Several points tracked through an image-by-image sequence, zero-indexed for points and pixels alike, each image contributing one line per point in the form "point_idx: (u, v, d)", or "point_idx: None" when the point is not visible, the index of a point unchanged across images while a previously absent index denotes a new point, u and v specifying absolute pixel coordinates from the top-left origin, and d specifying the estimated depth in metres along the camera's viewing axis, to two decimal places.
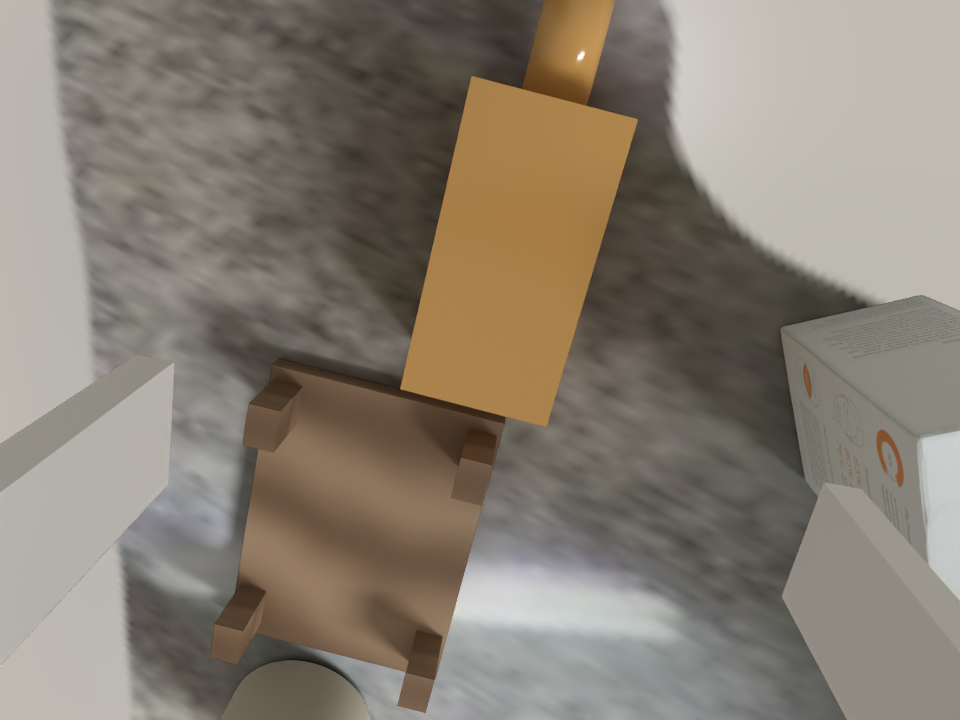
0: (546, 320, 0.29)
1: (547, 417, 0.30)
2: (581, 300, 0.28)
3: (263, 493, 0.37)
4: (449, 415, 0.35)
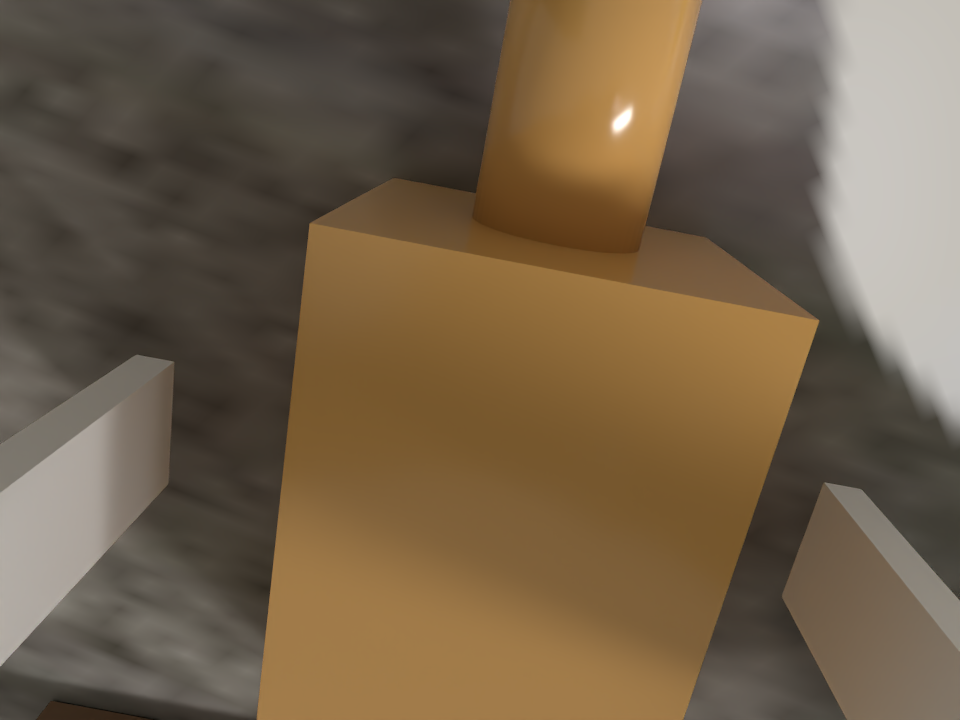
0: None
1: None
2: None
3: None
4: None
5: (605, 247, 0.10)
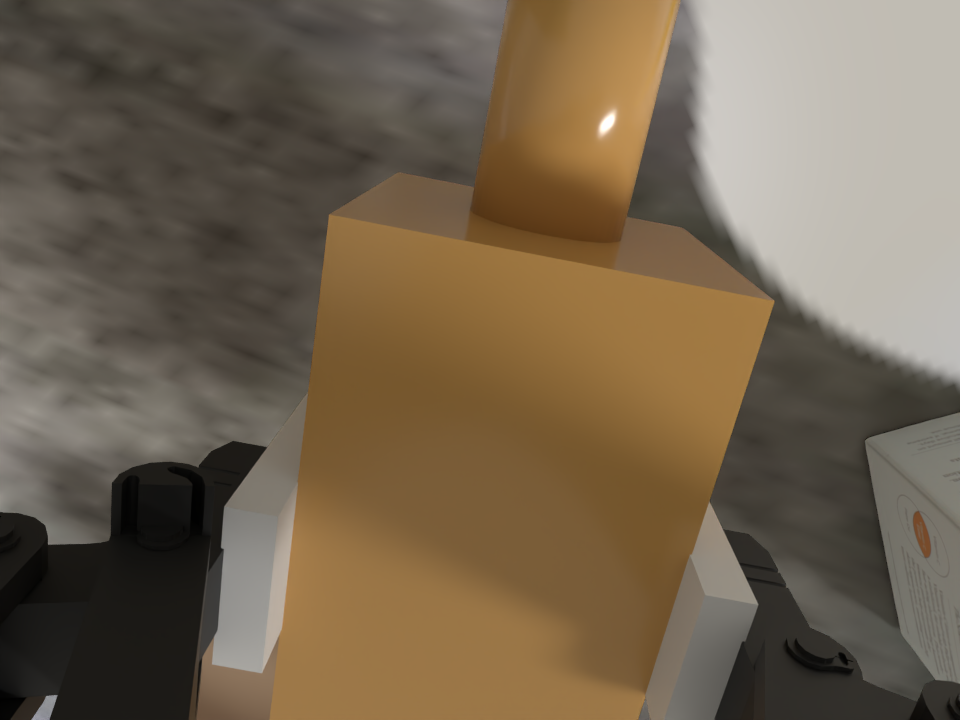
0: None
1: None
2: (640, 694, 0.12)
3: None
4: None
5: (590, 237, 0.12)
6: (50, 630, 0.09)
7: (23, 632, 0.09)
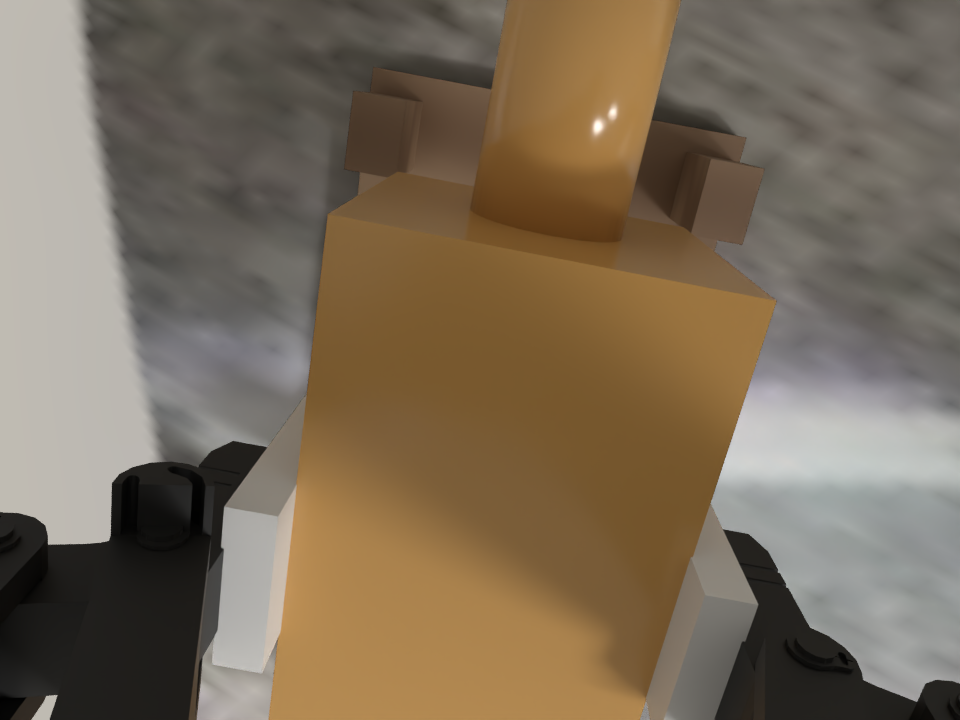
0: None
1: None
2: (640, 696, 0.12)
3: None
4: (657, 130, 0.22)
5: (590, 236, 0.12)
6: (51, 630, 0.09)
7: (23, 632, 0.09)
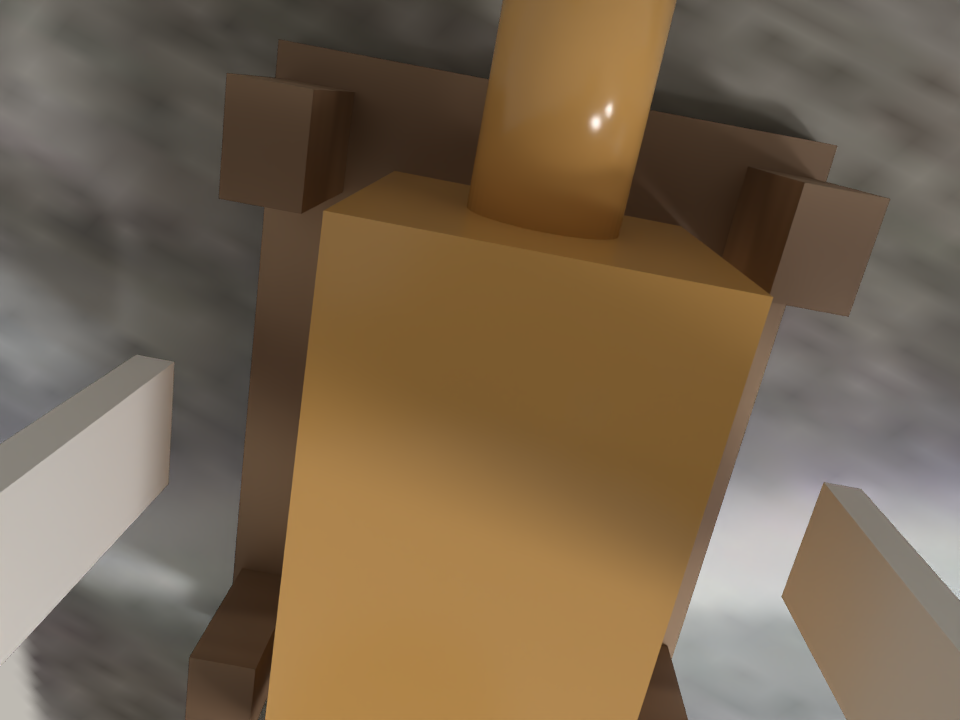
0: None
1: None
2: (638, 695, 0.12)
3: (278, 363, 0.17)
4: (705, 135, 0.15)
5: (587, 234, 0.12)
6: None
7: None
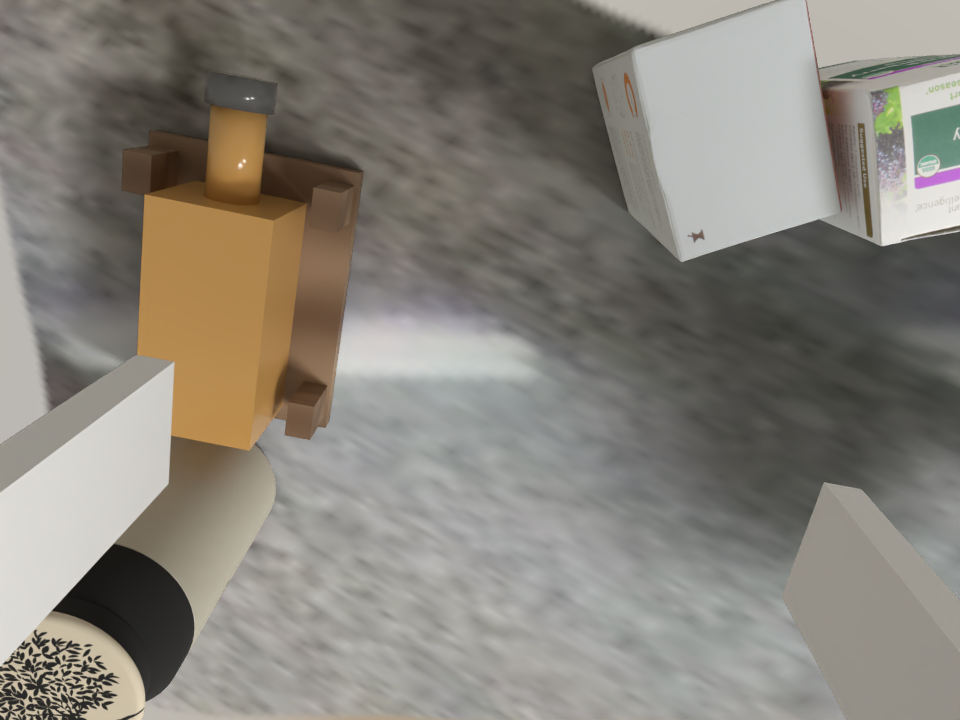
0: (234, 371, 0.37)
1: (248, 443, 0.39)
2: (257, 354, 0.37)
3: None
4: (310, 168, 0.40)
5: (237, 203, 0.37)
6: None
7: None
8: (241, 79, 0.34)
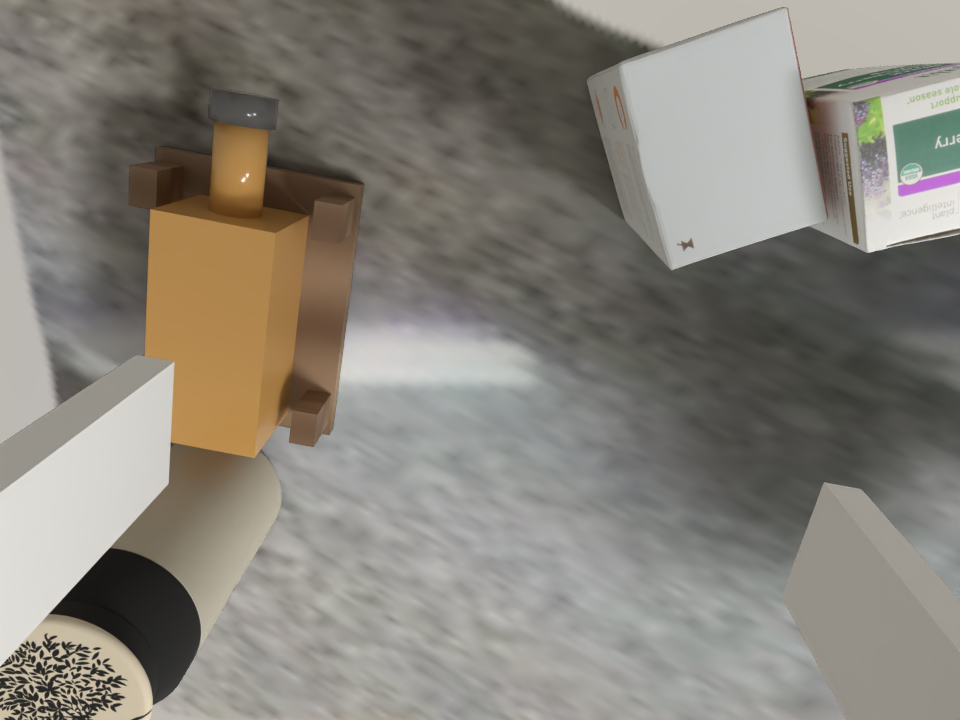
0: (238, 380, 0.38)
1: (253, 450, 0.40)
2: (261, 364, 0.38)
3: None
4: (312, 181, 0.41)
5: (240, 216, 0.38)
6: None
7: None
8: (243, 96, 0.35)
